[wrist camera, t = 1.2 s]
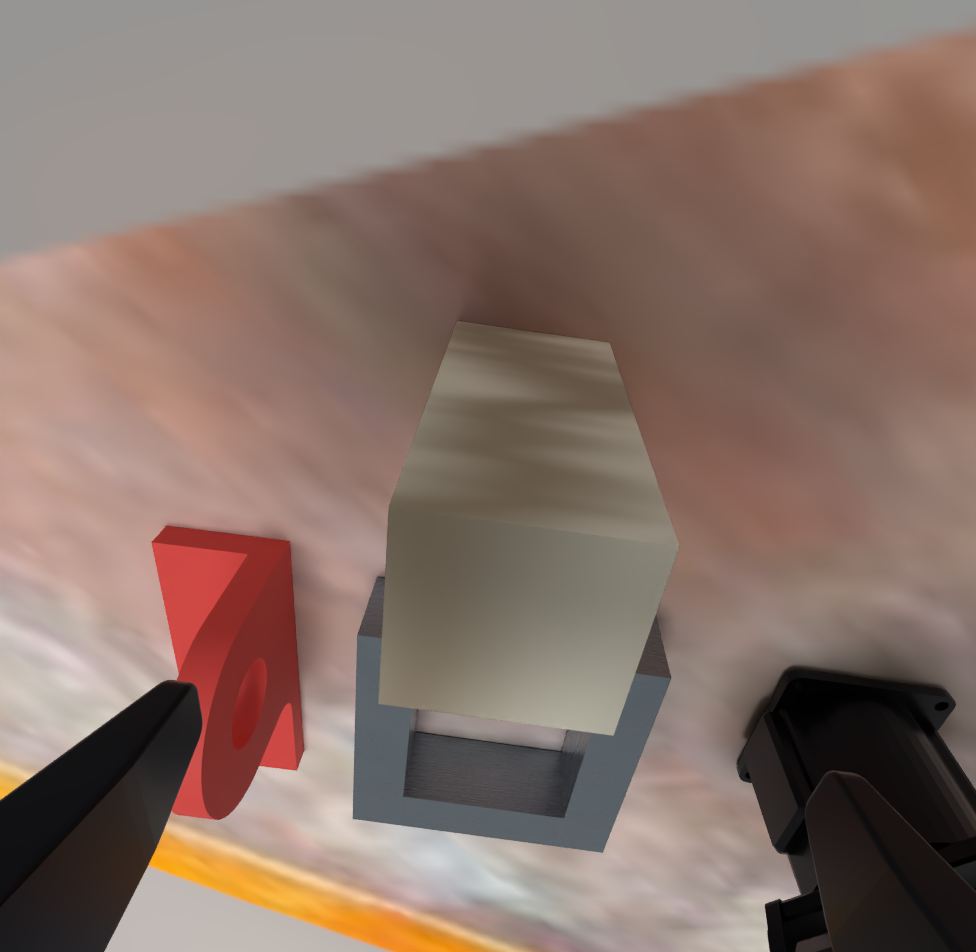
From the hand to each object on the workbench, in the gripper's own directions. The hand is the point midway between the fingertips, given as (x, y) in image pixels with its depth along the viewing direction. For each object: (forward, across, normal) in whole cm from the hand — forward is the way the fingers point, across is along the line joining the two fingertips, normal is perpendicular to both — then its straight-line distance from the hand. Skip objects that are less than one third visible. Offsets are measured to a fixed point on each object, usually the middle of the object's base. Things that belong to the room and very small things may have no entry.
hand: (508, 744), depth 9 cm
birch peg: (+12, 0, 0) cm, 12 cm away
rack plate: (+12, -1, +13) cm, 18 cm away
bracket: (+12, +10, +13) cm, 20 cm away
